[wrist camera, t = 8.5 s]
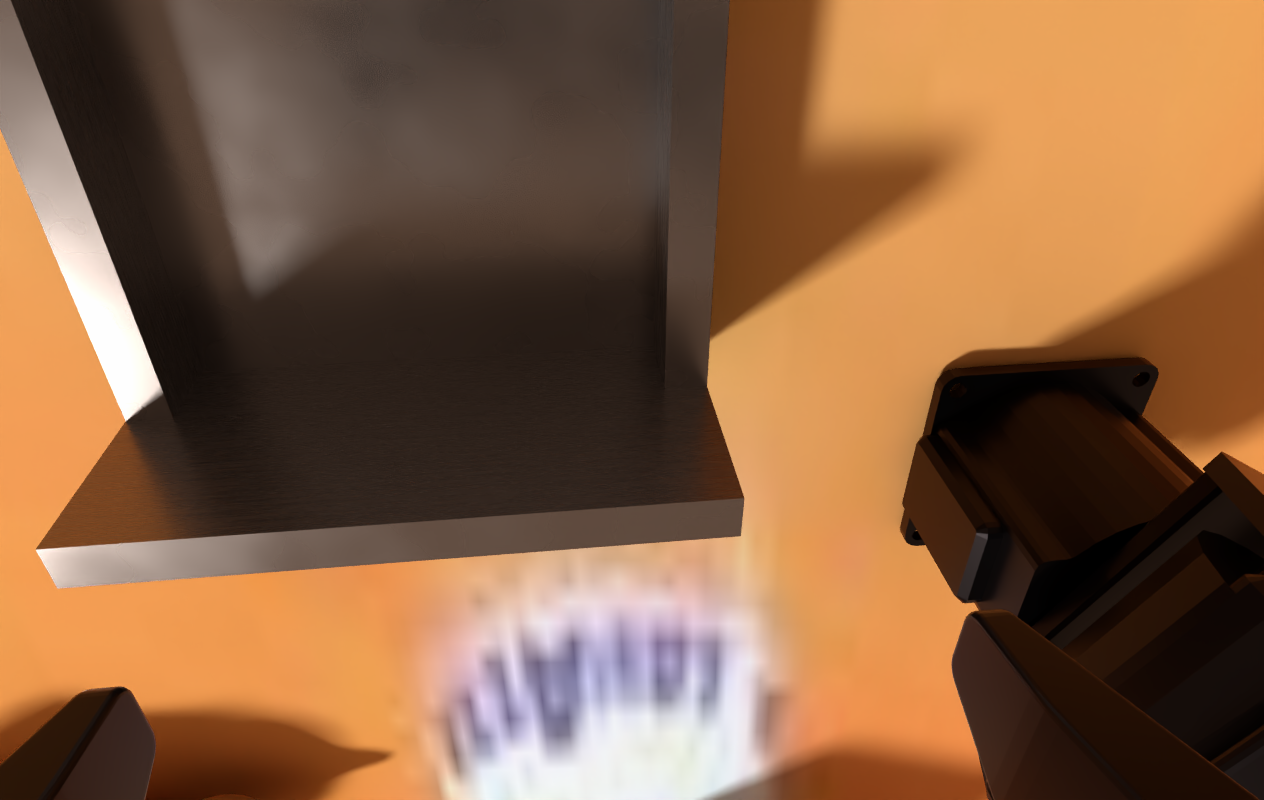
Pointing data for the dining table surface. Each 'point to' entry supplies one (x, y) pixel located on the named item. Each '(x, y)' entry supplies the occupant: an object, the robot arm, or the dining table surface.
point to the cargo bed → (380, 274)
